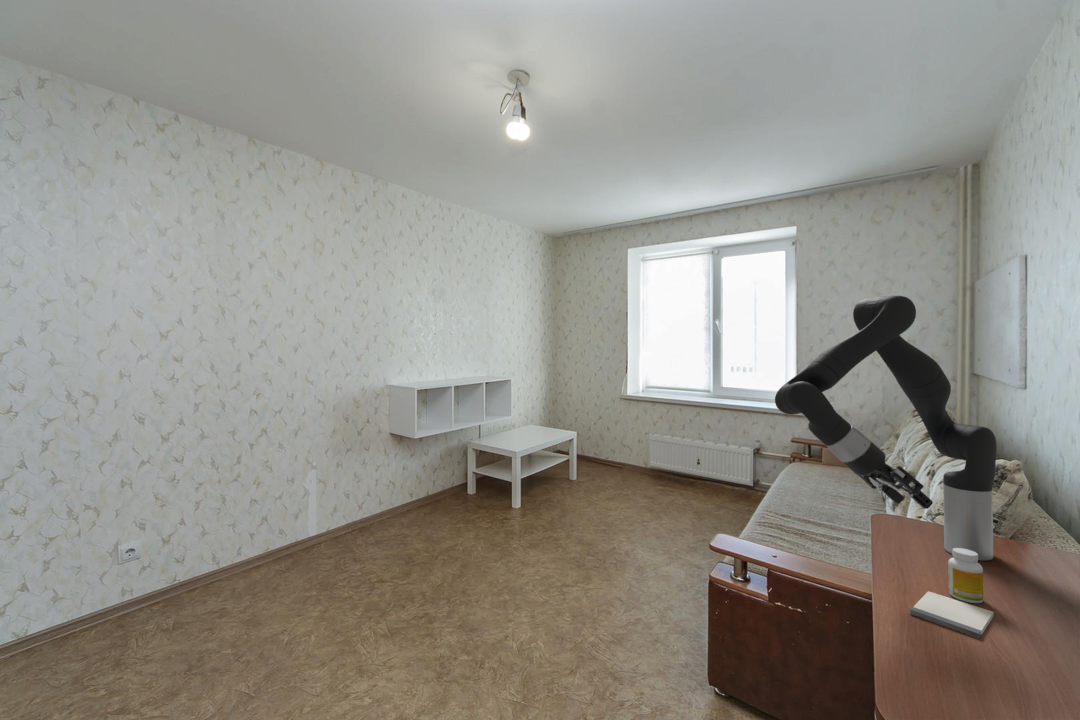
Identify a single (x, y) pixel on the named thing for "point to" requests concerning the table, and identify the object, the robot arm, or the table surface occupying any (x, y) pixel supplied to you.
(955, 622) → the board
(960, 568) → the supplement bottle
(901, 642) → the table surface
